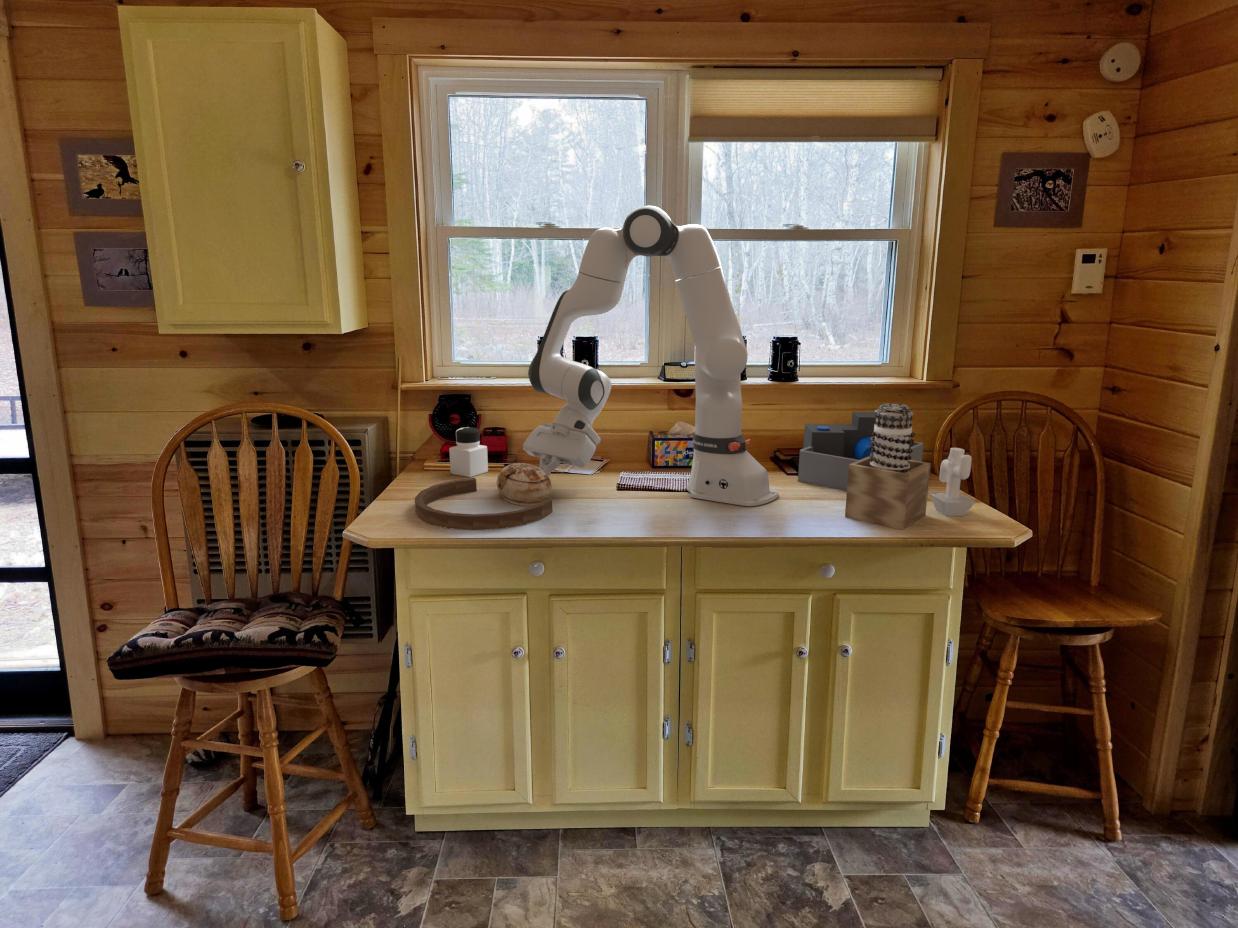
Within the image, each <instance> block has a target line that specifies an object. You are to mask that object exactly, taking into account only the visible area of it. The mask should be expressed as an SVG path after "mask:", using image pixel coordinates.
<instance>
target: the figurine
mask: <svg viewBox="0 0 1238 928" xmlns="http://www.w3.org/2000/svg"><path fill="white" fill-rule="evenodd" d="M971 468H972V456H971V455H970V454H965V449H963V448H962V447H961V448H959V447H951V448H950V451H949V454H948V457H947V458H946V459H943V460H942V461H941V463H940V468H939V469H940V470H939V476H938V477H939V482H941V483H946V486H945V487H946V489H945V492H934V493H929V492H928V496H929V497H930V499H931V502H932V504H933V506H934V508H935V511H937V512H938V513H940V514H941V515H943V516H945V517H961V516H965V515H966V514H968V512H969V511H970V509H971V508H972V507H973V506H974V504H975V503H976V500H975V499H974V500H973V498H970V497H968V496H967V495H964V494H963V493H961V492H960V489H961V488H960V487H961V481H962V480H966V479H968V478H969V476H970V474H971Z"/></svg>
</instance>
